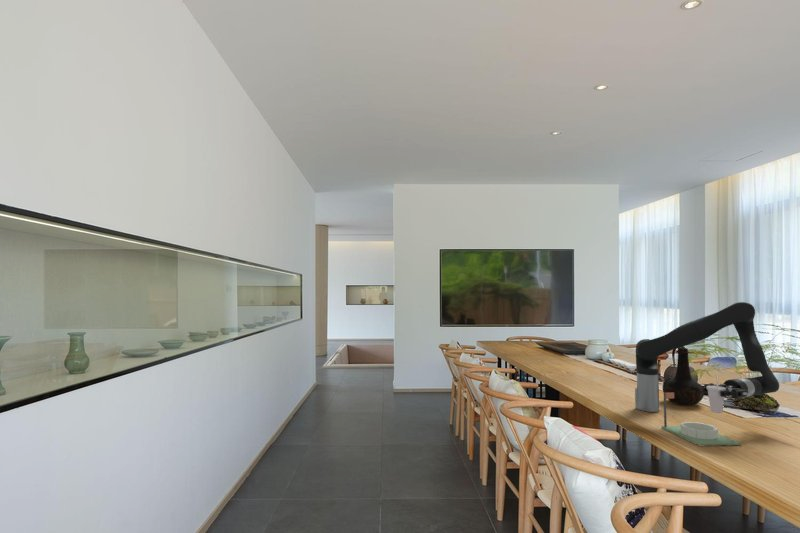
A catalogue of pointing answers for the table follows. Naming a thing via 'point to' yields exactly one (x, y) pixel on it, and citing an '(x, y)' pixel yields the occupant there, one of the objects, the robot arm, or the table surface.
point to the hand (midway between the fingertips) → (712, 391)
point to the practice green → (697, 430)
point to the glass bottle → (683, 383)
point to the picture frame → (729, 404)
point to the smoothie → (716, 398)
